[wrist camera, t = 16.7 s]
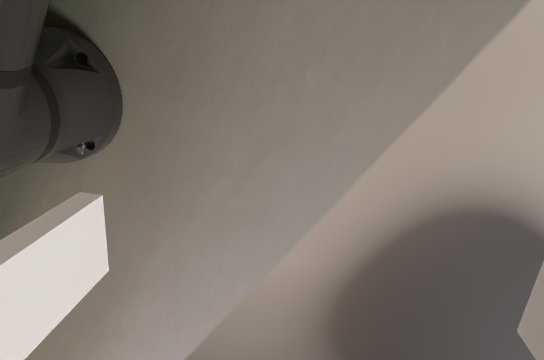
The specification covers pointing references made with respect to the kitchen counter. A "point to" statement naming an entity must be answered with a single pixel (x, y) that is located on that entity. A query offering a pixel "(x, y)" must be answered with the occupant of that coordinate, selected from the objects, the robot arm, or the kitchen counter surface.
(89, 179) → the kitchen counter surface
